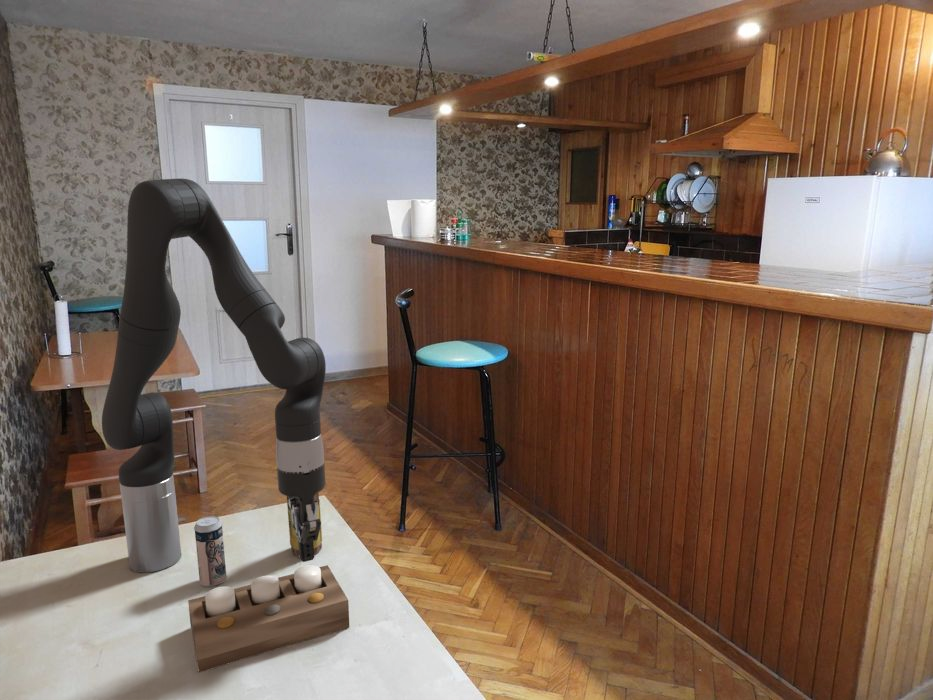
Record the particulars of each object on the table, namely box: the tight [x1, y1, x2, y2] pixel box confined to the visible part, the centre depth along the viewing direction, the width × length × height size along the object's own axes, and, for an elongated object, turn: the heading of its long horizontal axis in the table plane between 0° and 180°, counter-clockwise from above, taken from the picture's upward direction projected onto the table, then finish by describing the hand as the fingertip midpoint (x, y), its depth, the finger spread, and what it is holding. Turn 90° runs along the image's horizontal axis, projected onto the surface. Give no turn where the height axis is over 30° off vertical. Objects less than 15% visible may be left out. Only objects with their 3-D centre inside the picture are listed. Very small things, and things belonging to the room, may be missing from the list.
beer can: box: [193, 515, 228, 588], centre depth 119 cm, size 5×5×12 cm
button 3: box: [293, 564, 322, 594], centre depth 111 cm, size 4×4×3 cm
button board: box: [187, 564, 350, 673], centre depth 106 cm, size 12×23×5 cm, turn 118°
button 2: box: [250, 575, 280, 605], centre depth 108 cm, size 4×4×3 cm
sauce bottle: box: [286, 492, 323, 557], centre depth 129 cm, size 7×6×20 cm
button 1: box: [204, 586, 236, 618], centre depth 104 cm, size 4×4×3 cm
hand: (306, 559), depth 110 cm, fingers closed
